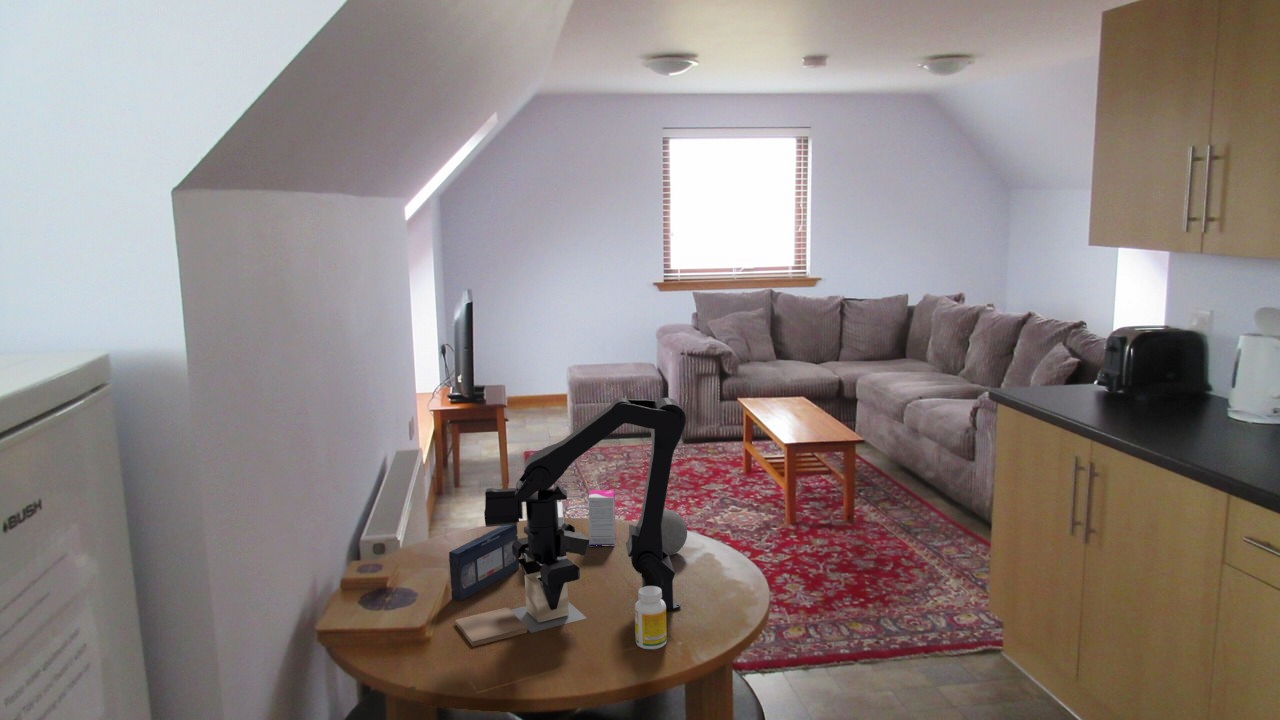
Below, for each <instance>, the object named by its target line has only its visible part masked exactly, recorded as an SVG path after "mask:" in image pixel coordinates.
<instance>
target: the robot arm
mask: <svg viewBox="0 0 1280 720" xmlns="http://www.w3.org/2000/svg"><path fill="white" fill-rule="evenodd" d="M686 416H687V415H686V413H685V412H684V410H683V409H682V407H681V405H680V404H679V403H678V401H677V400H675V399H673V398H671V397H662V398H660V399H658V400H652V399H651V400H650V399H633V398H632V399H630V398H625V397H618V398H615V399H614V400H612V402H611V403H610V404H609V405H607V407H605V408H604V409H602V410H601V411H600V412H599V413H598V414H595V416H593V417H592V418H590V419H589V420H588V421H587V422H585V423H584V424H583V425H581V426H580V427H578V428H577V429H575V430H574V431H573V432H571V434H570V435H568V436H566V437H565V438H564V439H562V440H560V441H558V442H557V443H554V444H550V445H548V446H546V447H543V448H542V449H539V450H538V451H536V452H534V453H532V454H530V456H529V457H527V459H526V461H525V462H524V463H525V464H524V472H523V473H522V475H521V477H520V478H519V479H518V480H517V482H516V484H515V487H508V488H493V487H491V488H486V489H485V492H484V495H485V500H484V502H485V503H484V504H485V508H484V511H483V512H484V524H485V525H484V526H485V527H486V528H489V527H491V528H493V527H501V526H507V525H517V526H518V523H520V520H523V519H524V518H523V517H524V507H523V505H524V504H523V503H525V509H526V510H525V511H526V513H525V514H526V526H523V533H524V534H526V535H527V537H526V536H525V537H521V538H518V539H516V540H515V542H514V543H513V544H512V553H513V555H514V556H515V557H517V558H519V560H518V562H519V566H521V568H522V570H523V572H524V575H527V574H532V573H536V572H540V575H541V577H539V578H538V581H539V583H540V586H541V588H542V590H543V593H544V595H545V598H546V600H547V602H548V605H549V607H550V609H551V610H555V609H557V606H558V602H559V599H560V595H561V591H562V588H563V585H564V583H567V584H568V583H571V582H574V581H578V580H580V579H581V572H580V567H579V566H577V565H576V564H575V563H573V562H572V561H571V560H570V559H568V558H567V553H569V554H575V555H576V554H577V555H579V556H582V557H585V556H586V555H587V551H588V548H589V541H590V539H589V537H587V536H586V535H584V534H583V533H581V532H579V531H576V529H575V526H574V525H572V523H568V522H567V523H566V522H564V524H563V525H562V526H561V527H560V526H559V524H558V504H557V502H558V501H565V500H567V499H568V492H567V490H566V489H564V488H563V487H562V486H561V485H560V483H556V482H557V481H558V480H559V479H560V478H561V477H562V476H564V474H565V473H566V471H567V470H568V469H569V467H570V466H571V465H572V464H573V463H574V462H575V460H576V459H578V458H579V457H581V456H583V454H585V453H587V452H588V451H589V450H590V449H592V448H593V447H594V446H596V445H597V444H598V443H599V442H601V441H602V440H604V439H606V437H608V436H609V435H610V434H611V433H613V432H614V431H616V430H617V429H619V428H620V427H621V426H622V425H623V424H629V425H633V426H637V427H640V428H646V429H650V434H651V435H650V437H651V450H650V451H651V452H650V457H649V462H648V469H647V476H646V480H645V481H646V482H645V487H644V493H643V500H642V506H641V513H640V517H639V520H638V522H637V524H636V525H633V524H629V525H628V538H627V541H626V542H625V546H626V551H627V555H628V558H630V561H631V565H632V568H633V570H635V571H636V572H637V573H638V574H641V588H642V587H645V586H656V587H659V588H660V589H661V590H662V598H661V599H662V600H663V601H664V602H665V604H666V613H668V612H669V613H670V612H672V611H676V610H680V609H681V605H680V604H679V603H678V602H677V601H676V600H674V585H673V583H674V582H673V581H674V578H675V574H676V572H675V569H674V566H673V564H672V560H671V558H670V556H669V555H668V554H666V553H665V552H664V551H663V545H662V530H661V524H662V518H663V512H664V509H665V505H666V504H665V503H666V500H667V499H666V498H667V493H668V486H669V480H670V475H671V469H672V463H673V456H674V452H675V450H676V448H677V447H678V444H679V443H680V441H681V438H682V435H683V432H684V430H685V426H686V423H687V417H686ZM555 483H556V484H555ZM554 484H555V486H554ZM559 556H560V557H563V556H566V559H562V560H558V559H557V557H559ZM521 557H522V558H521ZM637 601H638V600H636V601H634V602H635V604H636V602H637ZM635 604H634V605H635Z"/></svg>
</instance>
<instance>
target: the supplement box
mask: <svg viewBox="0 0 1280 720" xmlns="http://www.w3.org/2000/svg"><path fill="white" fill-rule="evenodd" d="M615 493H616V490H612V489H611V490H610V489H607V490H605V489H603V490H600V489H599V490H598V489H597V490H594V489H593V490H590V491H589V493H588V532H589V533H588V536H589V537H588V538H589V539H590V541H589V544H588V547H589V546H596V545H597V546H602V545H614V546H615V540H616V503H615V502H616V496H615V495H616V494H615Z"/></svg>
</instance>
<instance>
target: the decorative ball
mask: <svg viewBox="0 0 1280 720" xmlns="http://www.w3.org/2000/svg"><path fill="white" fill-rule="evenodd" d="M687 528H688V527H687V524H686V522H685V520H684V519H683V517H682V516H681V515H680V514H679V513H677V512H676V511H674V510H671V509H668V508H667V509H666V508H664V512H663V518H662V524H661V530H662V545H663V551H664V552H665V553H666V554H668V555H669V557H670V556H673V555H675V554H676V553H677V554H678V552H679V551H680V550H681V549H682V548H683V547H684V546H685V543H687V538H688V529H687Z"/></svg>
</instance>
